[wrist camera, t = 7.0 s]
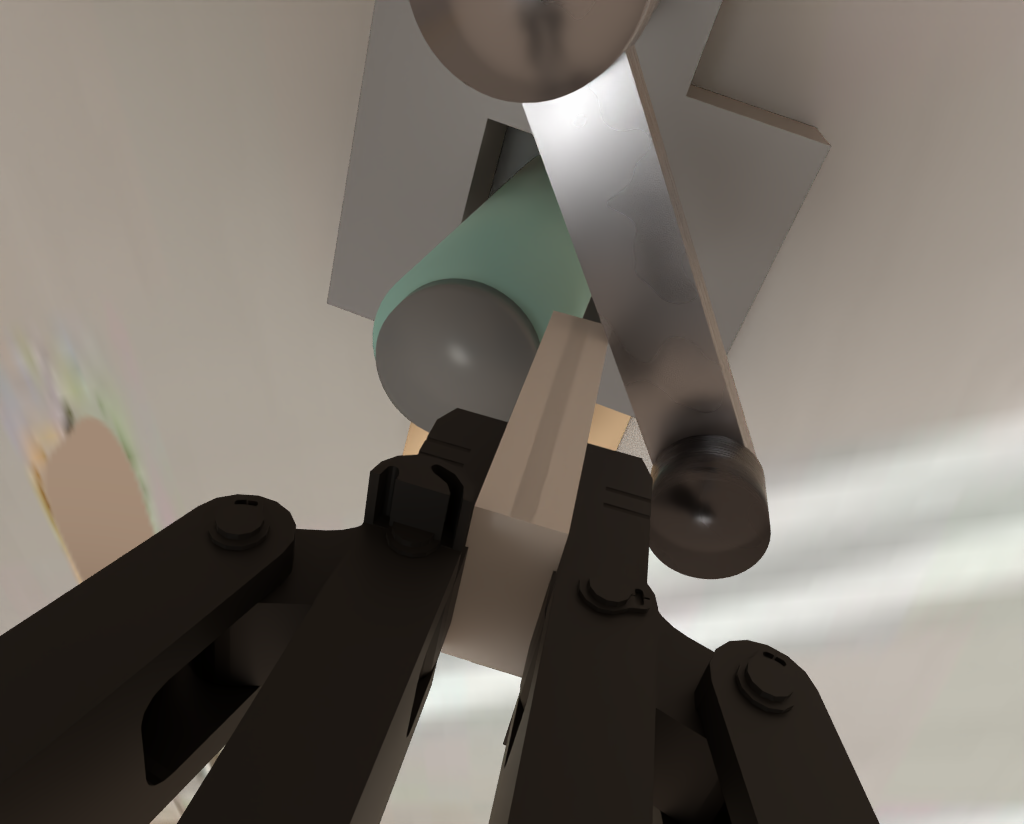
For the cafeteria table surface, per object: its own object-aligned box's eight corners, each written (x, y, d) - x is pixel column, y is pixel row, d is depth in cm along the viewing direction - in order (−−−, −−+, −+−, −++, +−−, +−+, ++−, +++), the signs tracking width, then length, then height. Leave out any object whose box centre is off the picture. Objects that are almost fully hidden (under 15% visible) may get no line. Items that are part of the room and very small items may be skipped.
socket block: (364, 273, 35) (137, 455, 21) (442, -152, 26) (144, -317, 12) (688, 392, 34) (673, 663, 20) (880, -6, 25) (1085, -9, 11)
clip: (418, -96, 12) (337, -122, 10) (623, -211, 11) (594, -278, 8) (642, 497, 17) (629, 591, 14) (804, 466, 16) (824, 563, 13)
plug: (496, 242, 33) (346, 415, 19) (527, 132, 30) (378, 242, 17) (599, 279, 32) (520, 481, 19) (639, 171, 30) (580, 316, 16)
